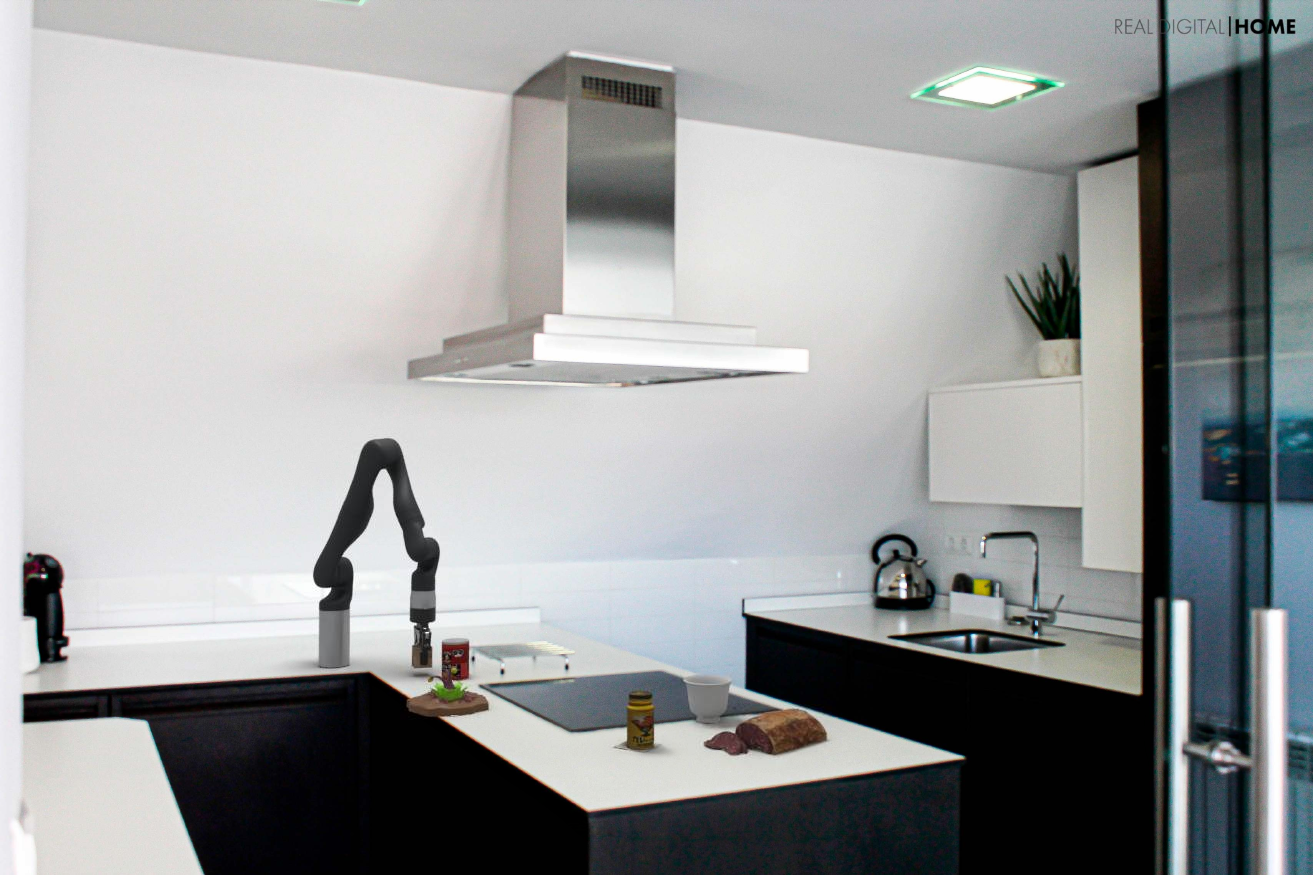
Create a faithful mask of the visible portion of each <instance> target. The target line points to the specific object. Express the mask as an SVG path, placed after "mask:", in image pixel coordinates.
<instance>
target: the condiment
mask: <svg viewBox="0 0 1313 875" xmlns="http://www.w3.org/2000/svg"><path fill="white" fill-rule="evenodd" d="M653 701H654V700H653V693H652V692H651V691H646V690H633V691H631V692H629V693H628V702H627V703H628V704H627V706H626V740H625V741H623V742H621V743H619V744H616V745H614V746H613V748H617V749H624V750H629V751H634V752H641V753H646V752H647V753H648V752H649V751H652V750H653V749H655V748H657V747H659V746H661V745H662V743H657V742H655V706H654V704H653Z"/></svg>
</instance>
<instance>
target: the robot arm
mask: <svg viewBox="0 0 1313 875" xmlns="http://www.w3.org/2000/svg"><path fill="white" fill-rule="evenodd" d="M407 468H408V467H407V464H406V461H405V456H404V453H403V450H402V447H401V445H400V443H399V442H398V441H397V440H396V439H394V438H389V437H385V438H384V437H383V438H375V439H370V440H368V441H366V443H364V444H363V446H362V448H361V451H360V453H359V457H358V460H357V464H356V468H355V471H354V475H353V477H352V480H351V483H350V484H349V485H350V486H349V488H348V491H347V493H346V496H345V498H344V501H343V502H342V504H341V505H342V506H341V508H340V510H339V512H338V515H337V518H336V521H335V523H334V525H333V528H332V530H331V533H330V534H329V537H328V540H327V541H326V543H325V545H324V547H323V549H322V551H321V552H320V554H319V557H318V558H317V559H316V562H315V564H314V568H313V571H312V579H313V582H314V584H315V586H316V587H318V588H320V589H330V588H331V589H330V591H329V592H328V594H327V595H326V596H324V598H322V599H320V600H319V603H318V667H320V666H321V667H320V668H326V667H327V668H342V667H346V666H349V665H350V660H351V657H350V656H351V654H350V651H351V650H350V649H351V648H350V647H351V646H350V642H351V624H350V623H351V619H350V618H351V603H352V600H353V594H354V593H353V591H354V577H355V576H354V572H355V571H354V566H353V564H352V563H353V562H352V561H351V560H350V559H349V557H347V556H344V554H345V552H346V551H347V550H348V548H350V547H351V546H352V545H353V544H354V543H355V542H356V541H357V540H358V538H360V537H361V536H362V535H363V533H364V532H365V531H366V529H367V528H368V526H369V523H370V520H371V518H372V517H373V516H372V515H373V513H374V509H375V503H374V502H375V499H374V493H373V492H374V485H375V482H376V480H377V478H378V475H379V474H380V472H381V471H382V470H386V472H387V474H388V476H389V478H390V480H391V483H392V505H393V510H394V514H395V516H396V519H397V521H398V524H399V526H400V528H401V531H402V535H403V537H402V538H403V542H404V547H405V551H406V554H407V555H408V557H409V558H410V559H411V561H413V562H414V563H417V565H416V569H415V570H414V571H412V573H411V579H410V594H409V595H410V596H409V622H411V623H414V625H413V637H414V638H413V641H414V642H413V645H420V665H428V652H429V651H430V650H431V646H432V645H431V644H432V631H431V628H430V626H429V624H431V623H434V622H436V619H437V618H436V616H437V613H436V610H437V596H436V595H437V594H436V574H437V572H438V571H437V570H438V567H439V561H440V557H441V556H440V555H441V549H440V544H439V543H438V541H437V540H436V539H435V538H433V537H430V536H429V537H428V536H427V537H425V535H424V531H423V529H424V528H425V525H426V521H425V519H424V516H423V514H422V512H421V509H420V507H419V505H418V503H417V502H418V501H417V499H416V497H415V494H414V491H413V489H412V485H411V481H410V477H409V472H408V470H407ZM425 644H426V647H424V645H425ZM327 668H326V669H327Z"/></svg>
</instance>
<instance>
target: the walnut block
mask: <svg viewBox="0 0 1313 875" xmlns="http://www.w3.org/2000/svg"><path fill="white" fill-rule="evenodd" d="M424 647H426V644H425V645H424ZM411 667H413V668H414V669H415V670H416V669H417V670H418V669H429V668H431V669H432V668H433V645H431V650H430V651H429V652H428V665H420V645H414V644H413V645H411Z"/></svg>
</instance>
